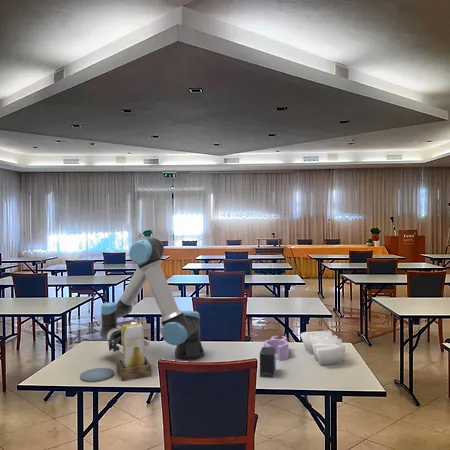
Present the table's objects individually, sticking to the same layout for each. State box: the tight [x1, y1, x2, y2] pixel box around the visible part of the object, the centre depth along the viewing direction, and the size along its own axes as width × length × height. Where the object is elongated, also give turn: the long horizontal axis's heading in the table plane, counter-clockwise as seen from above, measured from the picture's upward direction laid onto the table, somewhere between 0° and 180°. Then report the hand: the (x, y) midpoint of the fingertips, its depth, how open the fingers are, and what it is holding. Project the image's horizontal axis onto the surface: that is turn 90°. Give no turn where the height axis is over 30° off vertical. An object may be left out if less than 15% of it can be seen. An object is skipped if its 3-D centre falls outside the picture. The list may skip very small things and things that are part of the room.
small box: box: [259, 346, 277, 378], centre depth 202 cm, size 11×6×10 cm, turn 168°
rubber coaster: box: [79, 367, 115, 383], centre depth 204 cm, size 15×15×1 cm
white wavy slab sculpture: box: [299, 330, 346, 366], centre depth 224 cm, size 35×16×11 cm, turn 2°
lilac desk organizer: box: [263, 335, 290, 362], centre depth 228 cm, size 20×12×7 cm, turn 164°
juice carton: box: [120, 321, 145, 368], centre depth 206 cm, size 9×8×24 cm
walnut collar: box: [116, 355, 152, 382], centre depth 206 cm, size 13×14×5 cm
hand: (136, 347), depth 203 cm, fingers open, 12 cm apart
